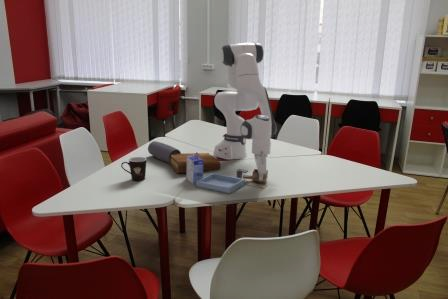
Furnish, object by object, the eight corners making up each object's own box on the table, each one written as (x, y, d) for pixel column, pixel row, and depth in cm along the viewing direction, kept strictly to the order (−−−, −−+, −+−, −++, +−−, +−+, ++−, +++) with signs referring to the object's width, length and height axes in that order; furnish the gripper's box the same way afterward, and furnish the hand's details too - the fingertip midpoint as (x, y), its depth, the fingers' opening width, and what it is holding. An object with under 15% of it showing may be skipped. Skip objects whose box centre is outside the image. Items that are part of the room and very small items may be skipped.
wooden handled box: (230, 181, 188) (230, 171, 187) (239, 176, 196) (239, 166, 195) (264, 188, 179) (265, 178, 178) (272, 182, 187) (272, 173, 186)
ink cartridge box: (203, 184, 185) (204, 155, 181) (193, 185, 182) (193, 156, 179) (196, 178, 193) (196, 150, 190) (186, 179, 191) (185, 151, 187)
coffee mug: (150, 177, 192) (149, 158, 190) (141, 182, 184) (140, 162, 182) (130, 174, 196) (129, 155, 193) (120, 179, 188) (119, 160, 186)
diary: (177, 173, 194) (178, 162, 193) (168, 163, 211) (169, 153, 209) (219, 171, 203) (220, 161, 202) (207, 162, 220) (208, 152, 218)
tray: (196, 186, 180) (196, 181, 179) (213, 178, 192) (213, 172, 192) (229, 194, 171) (229, 188, 170) (244, 184, 183) (245, 179, 183)
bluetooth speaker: (182, 164, 215) (182, 147, 212) (168, 167, 209) (168, 149, 206) (160, 155, 231) (160, 139, 229) (146, 157, 225) (147, 140, 223)
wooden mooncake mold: (241, 179, 184) (242, 172, 183) (244, 175, 190) (244, 168, 189) (265, 182, 181) (266, 174, 180) (267, 177, 188) (267, 170, 187)
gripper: (270, 155, 171) (268, 184, 175) (265, 144, 191) (264, 170, 195) (256, 154, 171) (254, 184, 175) (253, 144, 191) (252, 170, 195)
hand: (259, 177), depth 185 cm, fingers closed on wooden mooncake mold, 7 cm apart
